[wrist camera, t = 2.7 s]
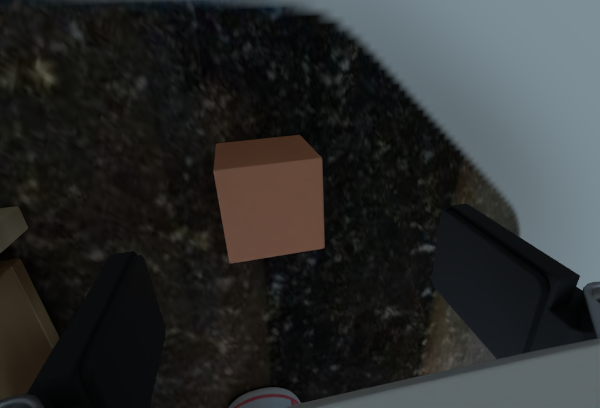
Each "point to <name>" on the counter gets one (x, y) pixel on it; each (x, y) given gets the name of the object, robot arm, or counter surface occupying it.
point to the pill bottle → (266, 399)
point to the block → (269, 197)
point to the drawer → (20, 316)
